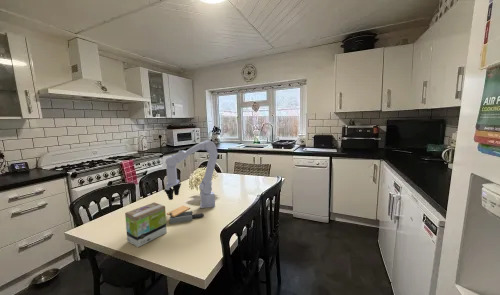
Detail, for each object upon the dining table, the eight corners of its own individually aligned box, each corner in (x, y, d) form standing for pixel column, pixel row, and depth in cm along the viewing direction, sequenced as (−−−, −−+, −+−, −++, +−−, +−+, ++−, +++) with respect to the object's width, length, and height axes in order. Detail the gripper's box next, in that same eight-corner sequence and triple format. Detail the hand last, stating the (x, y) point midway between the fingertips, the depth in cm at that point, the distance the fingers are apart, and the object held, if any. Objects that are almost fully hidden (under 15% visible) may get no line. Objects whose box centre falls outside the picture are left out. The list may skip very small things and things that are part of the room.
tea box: (138, 248, 91) (135, 217, 90) (127, 241, 97) (123, 212, 95) (167, 232, 104) (165, 205, 102) (156, 227, 109) (153, 201, 107)
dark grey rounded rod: (203, 215, 122) (203, 212, 122) (203, 217, 120) (203, 214, 119) (189, 217, 120) (189, 214, 119) (189, 219, 118) (189, 215, 117)
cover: (182, 206, 127) (182, 204, 127) (190, 208, 124) (190, 206, 124) (166, 214, 117) (166, 212, 117) (173, 217, 113) (173, 214, 113)
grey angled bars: (192, 215, 122) (192, 210, 122) (192, 220, 116) (191, 215, 116) (171, 218, 119) (171, 213, 119) (170, 223, 113) (169, 218, 113)
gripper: (171, 173, 132) (173, 193, 134) (159, 179, 118) (161, 201, 120) (181, 173, 132) (183, 193, 133) (171, 179, 117) (173, 201, 119)
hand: (173, 197), depth 127 cm, fingers open, 7 cm apart
